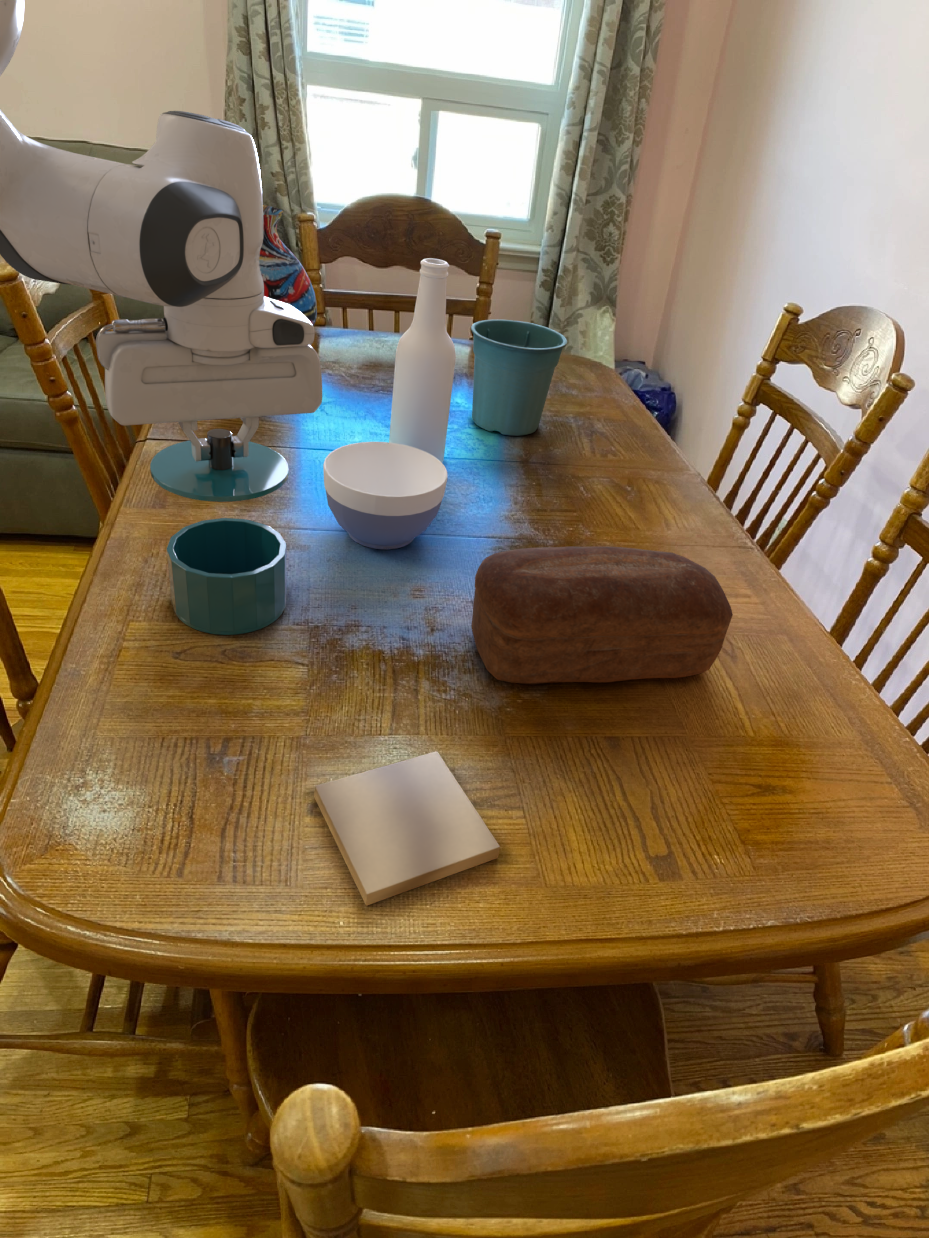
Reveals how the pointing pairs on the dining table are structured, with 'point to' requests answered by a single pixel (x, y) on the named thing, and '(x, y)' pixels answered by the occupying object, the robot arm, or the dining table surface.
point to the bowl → (383, 491)
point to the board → (404, 826)
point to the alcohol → (424, 368)
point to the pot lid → (219, 470)
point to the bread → (596, 615)
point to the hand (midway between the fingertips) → (220, 457)
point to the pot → (227, 575)
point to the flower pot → (512, 374)
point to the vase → (284, 269)
